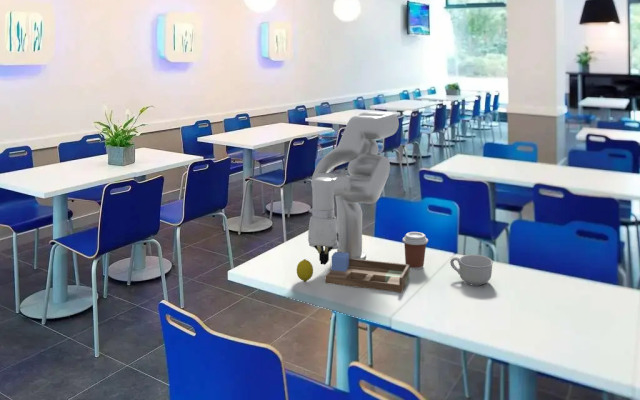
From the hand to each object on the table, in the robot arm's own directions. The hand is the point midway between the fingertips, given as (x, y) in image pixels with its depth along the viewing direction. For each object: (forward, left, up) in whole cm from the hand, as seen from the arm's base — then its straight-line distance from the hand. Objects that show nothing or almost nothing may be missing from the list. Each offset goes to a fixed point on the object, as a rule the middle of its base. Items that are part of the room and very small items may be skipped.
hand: (324, 263), depth 199 cm
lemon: (+10, -3, -4) cm, 11 cm away
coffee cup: (-16, +29, -4) cm, 34 cm away
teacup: (-8, +50, -4) cm, 50 cm away
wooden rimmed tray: (+3, +17, -4) cm, 17 cm away
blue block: (+1, +6, -1) cm, 6 cm away
